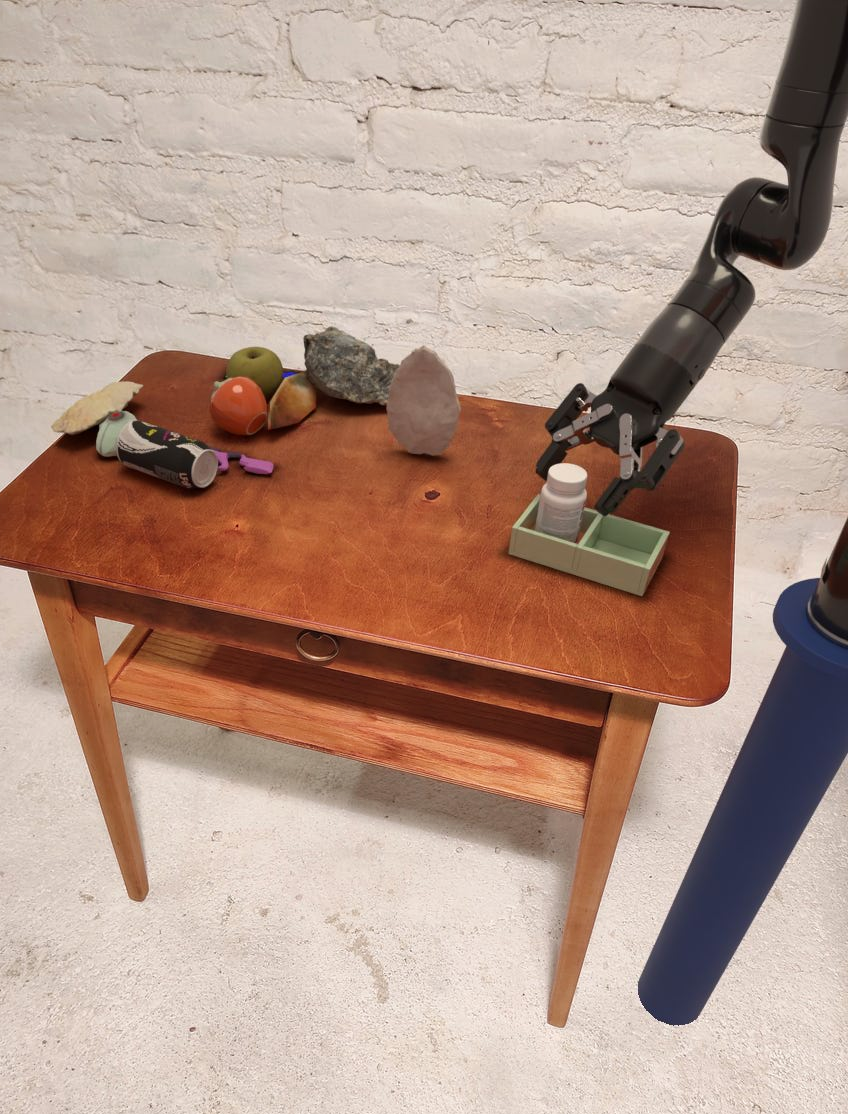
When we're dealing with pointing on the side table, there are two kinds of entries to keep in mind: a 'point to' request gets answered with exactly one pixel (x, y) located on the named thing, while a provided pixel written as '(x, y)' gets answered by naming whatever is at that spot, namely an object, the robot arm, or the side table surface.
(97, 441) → the robot head
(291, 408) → the decorative stone
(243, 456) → the pink plastic clamp
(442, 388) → the stone tool
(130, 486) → the side table surface
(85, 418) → the stone tool
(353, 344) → the rock
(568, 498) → the pill bottle
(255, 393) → the tomato
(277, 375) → the apple
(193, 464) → the beverage can
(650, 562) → the divided tray
